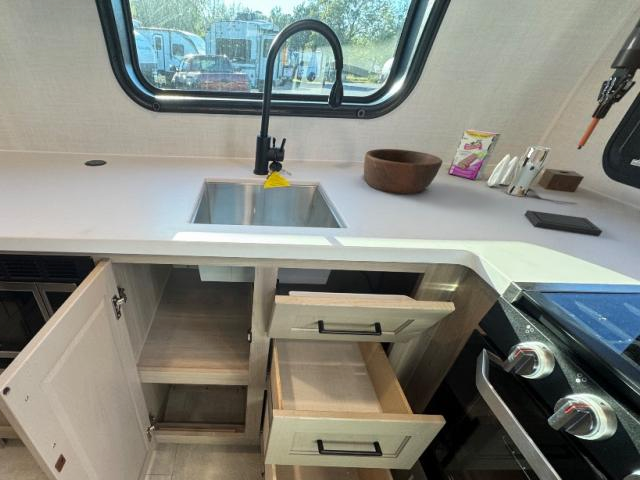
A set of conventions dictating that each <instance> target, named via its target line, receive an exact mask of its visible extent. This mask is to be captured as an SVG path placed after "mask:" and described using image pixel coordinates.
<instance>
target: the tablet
mask: <svg viewBox="0 0 640 480" xmlns="http://www.w3.org/2000/svg"><path fill="white" fill-rule="evenodd" d="M534 212H537V213H544V214H552V215H559V216H567V217H574V218H582V219H583V220H584V221H585V222H587V223H588V224H589V225H590V226H592V227H593V228H594V229H591V228H584V227H577V226H570V225H563V224H555V223H548V222H541V221H540V219H539V218H538V217H537V216H536V215H535V214H534ZM524 216H525V217H526V219H527V220H528V221H529V222H530V223H531V224H532V226H533V227H534V228H538V229H539V228H540V229H546V230H552V231H559V232H564V233H565V232H567V233H571V234H572V233H573V234H579V235H587V236H593V237H600V235H601V234H602V233H603V230H602V229H601V228H599V227H598V226H597V225H596V224H594V223H593V222H592V221H590V220H589V219H588V217H582V216H574V215H566V214H558V213H552V212H544V211H543V212H542V211H538V210H537V211H536V210H529V209H527V210H526V211H525V213H524Z"/></svg>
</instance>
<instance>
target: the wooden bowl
mask: <svg viewBox="0 0 640 480" xmlns="http://www.w3.org/2000/svg"><path fill="white" fill-rule="evenodd" d="M363 163H364V164H363V176H364V180H365V183H366V184H367V185H368V186H369V187H371V188H372V189H376V190H380V191H383V190H384V191H383V192H388V191H389V192H388V193H394V192H395V194H417V193H420V192H422V191H424V190H426V189H427V188H428V187H429V186H430V185H431V183H432V182H433V181H434V180H435V178H436V176H437V174H438V172H439V171H440V169H441V167H442V165H443V160H442V158H440V157H439V156H437V155H433V154H431V153H426V152H421V151H415V150H409V149H397V148H379V149H378V148H377V149H371V150H368V151H367V152H366V153H365V155H364V162H363Z"/></svg>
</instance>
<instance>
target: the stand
mask: <svg viewBox="0 0 640 480" xmlns="http://www.w3.org/2000/svg"><path fill="white" fill-rule="evenodd" d="M584 178H585V176H584V175H582V174H580V173H579V172H576V171H575V170H568V169H567V170H566V169H565V170H564V169H555V168H545V170H544V172H543V174H542V175H541V176H540V179H539V181H538V182H537V184H538V185H539V186H540V187H541V188H543V189H544V190H548V191H557V192H566V193H575V192H576V191H577V189H578V187H579V186H580V184H581V183H582V181H583V179H584Z"/></svg>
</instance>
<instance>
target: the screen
mask: <svg viewBox="0 0 640 480" xmlns="http://www.w3.org/2000/svg"><path fill="white" fill-rule="evenodd" d="M537 212H538V211H537ZM537 212H534V214H535V215H536V216H537V217H538V218H539V219H540V221H541V222H548V223H555V224H563V225H570V226H577V227H584V228H591V229H594V228H593V227H592V226H590V225H589V224H588V223H587V222H585V221H584V220H583V219H582V218H583V217H581V218H574V217H575V216H574V217H567V216H568V215H567V216H559V215H560V214H559V215H552V214H553V213H552V214H544V213H545V212H544V213H537Z"/></svg>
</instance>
